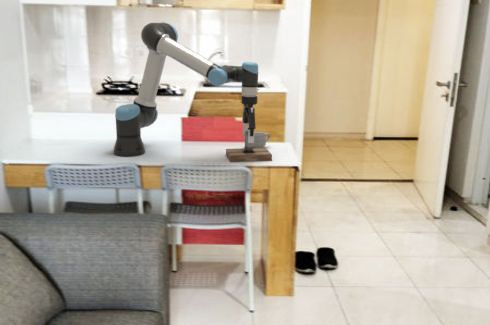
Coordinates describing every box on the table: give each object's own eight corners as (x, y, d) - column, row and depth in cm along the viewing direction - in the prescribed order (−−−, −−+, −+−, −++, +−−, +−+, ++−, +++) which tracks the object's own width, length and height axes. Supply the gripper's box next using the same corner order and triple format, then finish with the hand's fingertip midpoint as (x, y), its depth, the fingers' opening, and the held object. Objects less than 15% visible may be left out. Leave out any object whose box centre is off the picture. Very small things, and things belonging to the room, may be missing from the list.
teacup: (249, 151, 270) (249, 136, 268) (242, 146, 280) (242, 131, 278) (274, 149, 275) (275, 134, 272) (267, 145, 284) (267, 130, 282)
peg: (243, 156, 259) (244, 130, 256) (251, 156, 260) (252, 130, 256) (245, 158, 255) (245, 132, 252) (253, 158, 256) (253, 132, 253)
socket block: (225, 154, 262) (226, 148, 262) (265, 153, 266) (265, 147, 265) (230, 162, 249) (230, 155, 248) (271, 160, 253) (272, 154, 252)
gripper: (263, 99, 239) (261, 145, 244) (252, 92, 262) (250, 133, 268) (246, 99, 237) (245, 145, 243) (237, 92, 261) (236, 134, 266)
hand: (248, 139), depth 255 cm, fingers open, 13 cm apart
